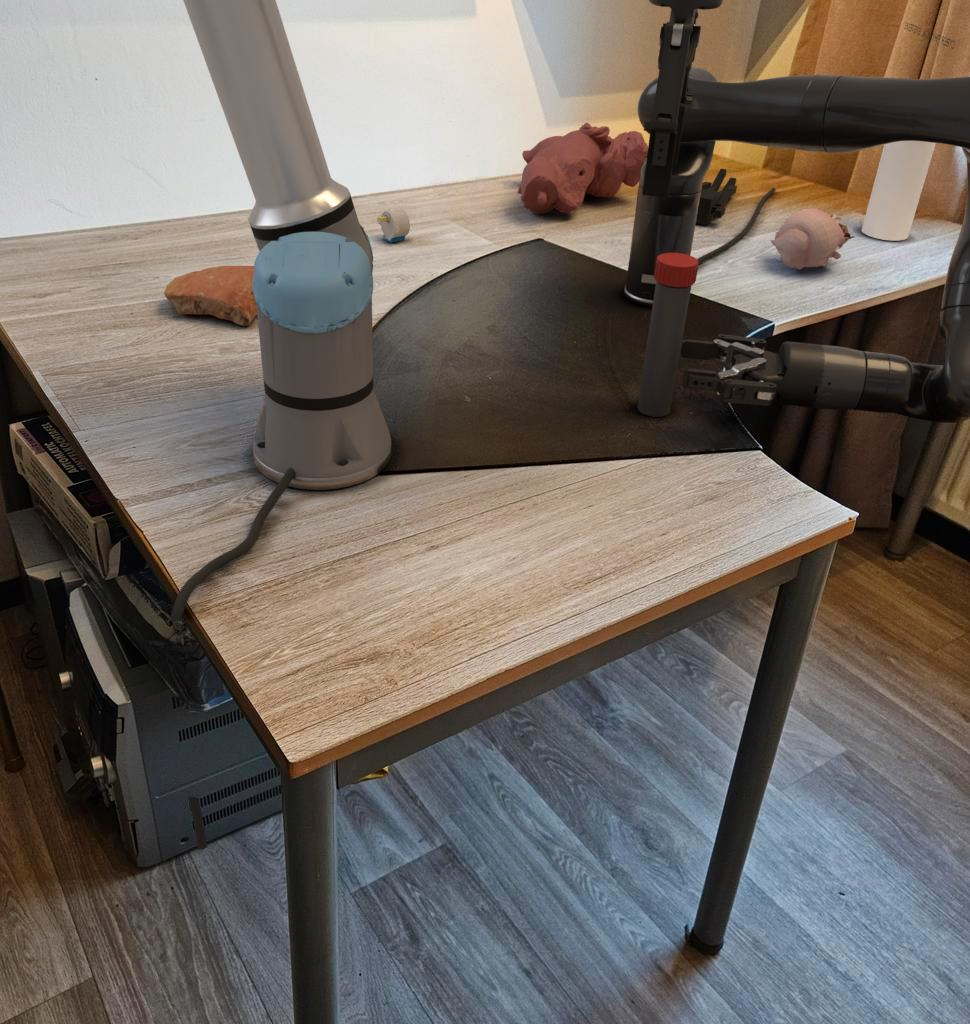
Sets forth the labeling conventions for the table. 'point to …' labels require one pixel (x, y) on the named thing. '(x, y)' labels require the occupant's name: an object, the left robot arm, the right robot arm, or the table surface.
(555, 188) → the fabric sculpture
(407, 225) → the electric motor
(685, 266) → the lid
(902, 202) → the tall white tube
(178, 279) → the ceramic shard
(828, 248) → the toy
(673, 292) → the bottle
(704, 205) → the black forked piece
